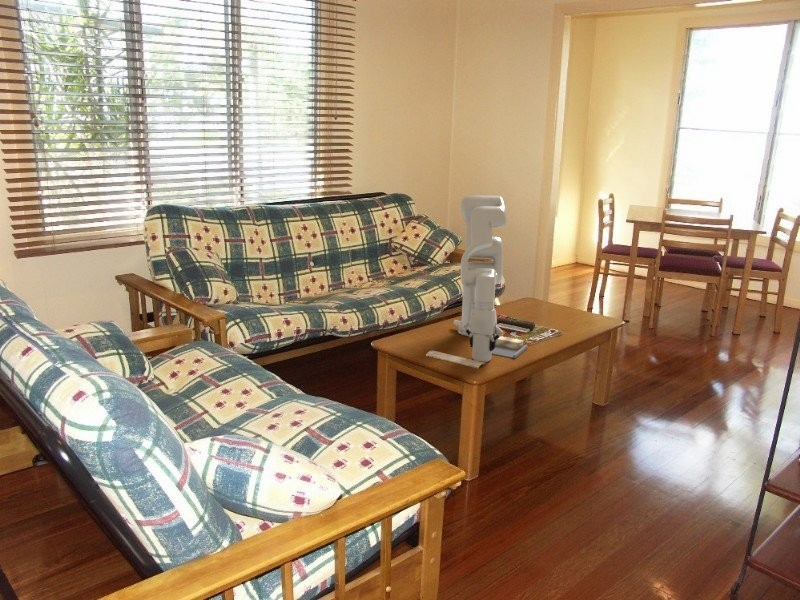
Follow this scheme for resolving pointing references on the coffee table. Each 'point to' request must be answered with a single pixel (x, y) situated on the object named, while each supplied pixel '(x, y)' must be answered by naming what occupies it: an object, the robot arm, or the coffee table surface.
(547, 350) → the coffee table surface
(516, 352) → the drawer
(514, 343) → the ledge
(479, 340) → the can
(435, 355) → the newspaper
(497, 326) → the robot arm
